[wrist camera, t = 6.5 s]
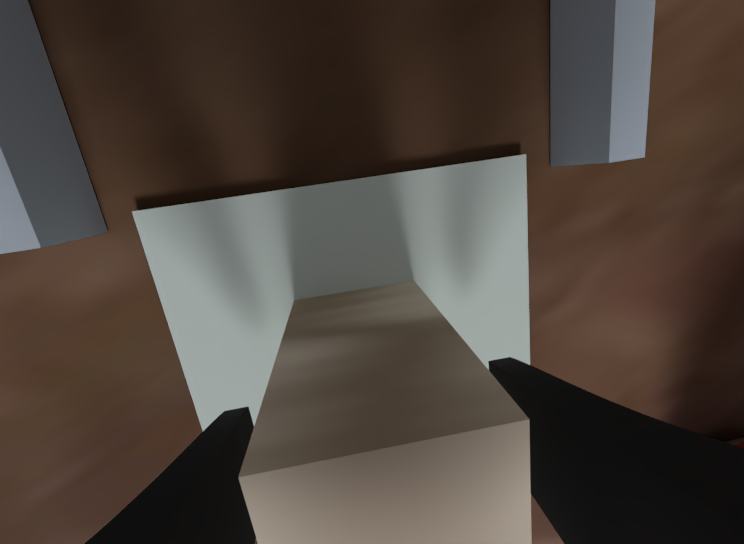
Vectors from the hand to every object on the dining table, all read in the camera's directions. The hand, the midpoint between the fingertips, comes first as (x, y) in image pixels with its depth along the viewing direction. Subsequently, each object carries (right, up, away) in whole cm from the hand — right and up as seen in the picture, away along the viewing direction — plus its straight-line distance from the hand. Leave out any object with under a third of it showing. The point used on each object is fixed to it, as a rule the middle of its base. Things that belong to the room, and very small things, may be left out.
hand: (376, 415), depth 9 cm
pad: (0, +1, +3) cm, 3 cm away
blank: (0, +1, +3) cm, 3 cm away
